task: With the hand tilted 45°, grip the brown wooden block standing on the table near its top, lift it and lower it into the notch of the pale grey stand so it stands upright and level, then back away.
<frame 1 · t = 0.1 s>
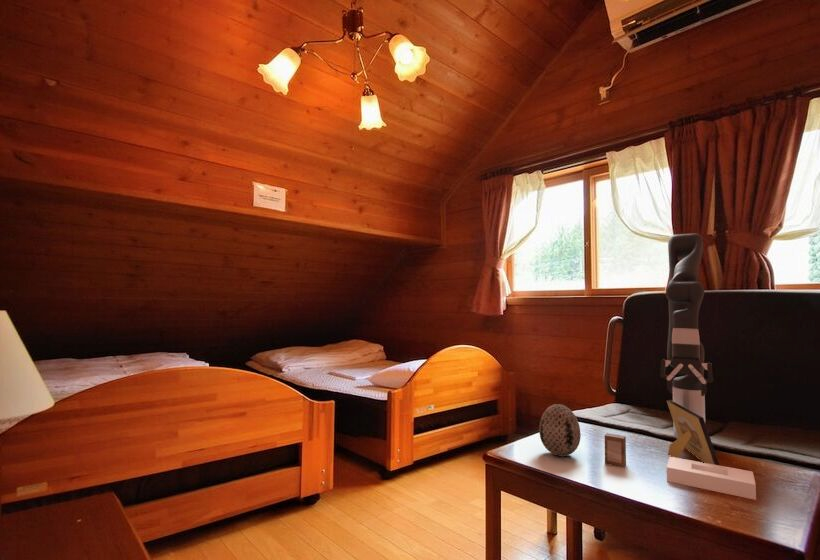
hand: (686, 394, 138), 17 cm above the table, tool pointing down, fingers open, 8 cm apart
picture frame: (685, 458, 129), on the table
notch stand: (709, 483, 110), on the table
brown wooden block: (615, 464, 123), on the table
decorative egg: (559, 455, 130), on the table
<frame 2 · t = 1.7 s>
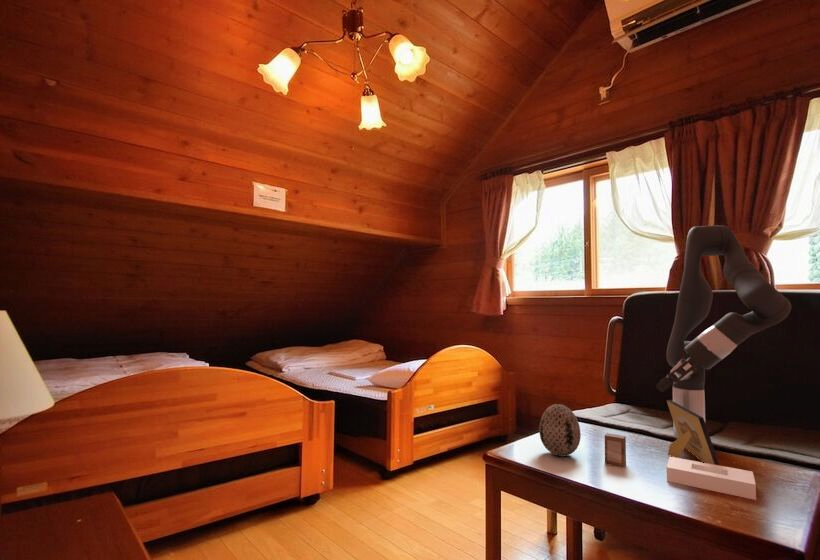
hand: (660, 387, 118), 23 cm above the table, tool tilted 45°, fingers open, 8 cm apart
nothing on the table moved.
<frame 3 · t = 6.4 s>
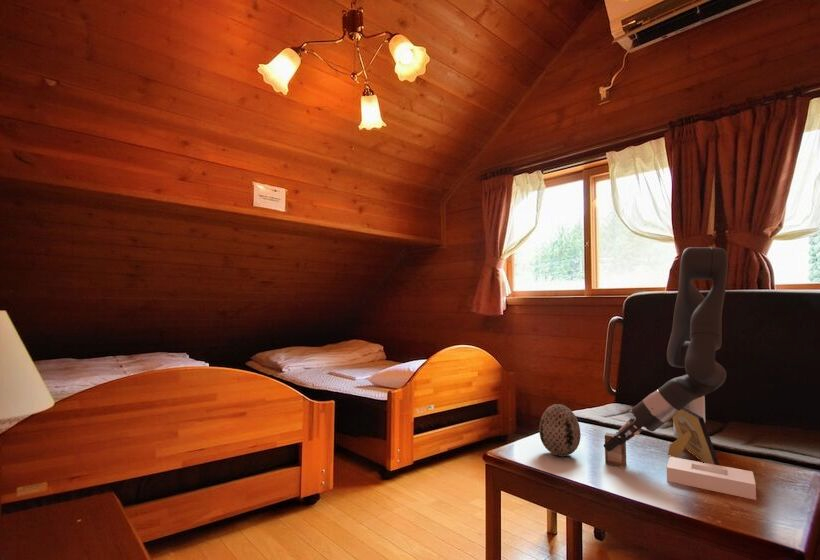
hand: (607, 446, 124), 4 cm above the table, tool tilted 45°, fingers closed on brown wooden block, 3 cm apart
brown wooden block: (615, 464, 123), on the table, touching gripper
everything else where it was.
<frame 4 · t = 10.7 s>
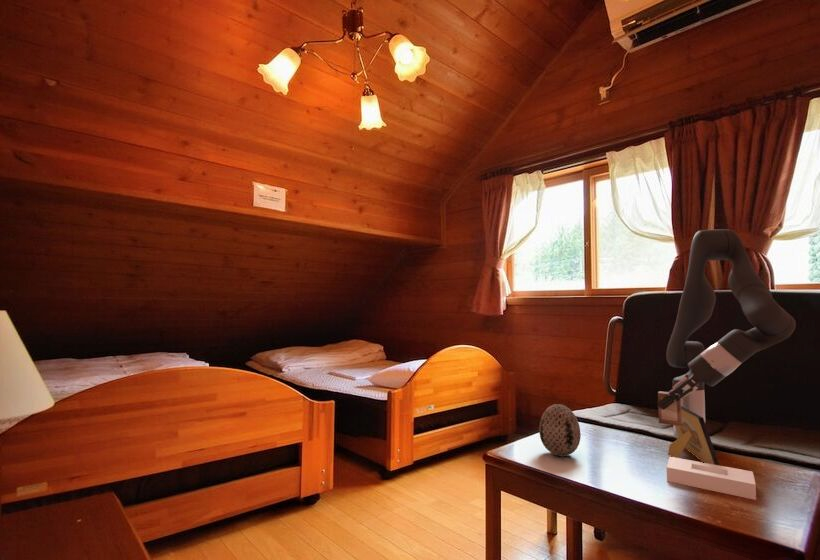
hand: (660, 405, 117), 18 cm above the table, tool tilted 45°, fingers closed on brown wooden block, 3 cm apart
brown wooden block: (670, 423, 116), point 14 cm above the table, touching gripper
everything else where it was.
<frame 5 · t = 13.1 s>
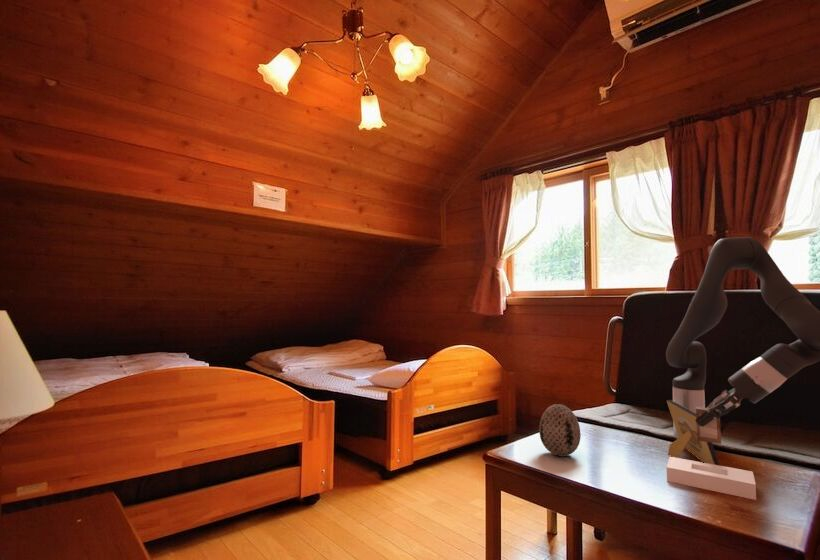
hand: (698, 421, 112), 15 cm above the table, tool tilted 45°, fingers closed on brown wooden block, 3 cm apart
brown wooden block: (709, 440, 111), point 11 cm above the table, touching gripper
everything else where it was.
when the fingers open (6 cm above the table, at t = 15.2 s): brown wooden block stays where it is, resting on notch stand.
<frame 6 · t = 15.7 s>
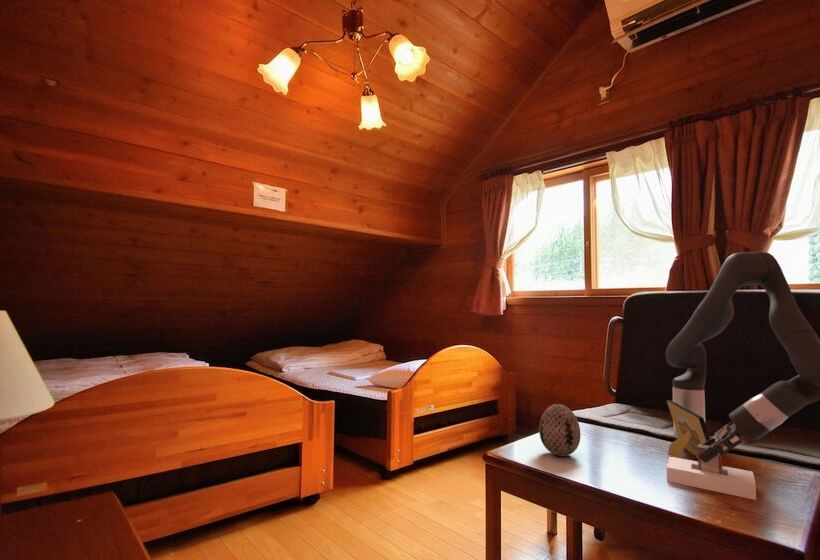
hand: (702, 454, 112), 7 cm above the table, tool tilted 45°, fingers open, 7 cm apart
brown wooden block: (710, 479, 110), point 1 cm above the table, touching notch stand
everything else where it was.
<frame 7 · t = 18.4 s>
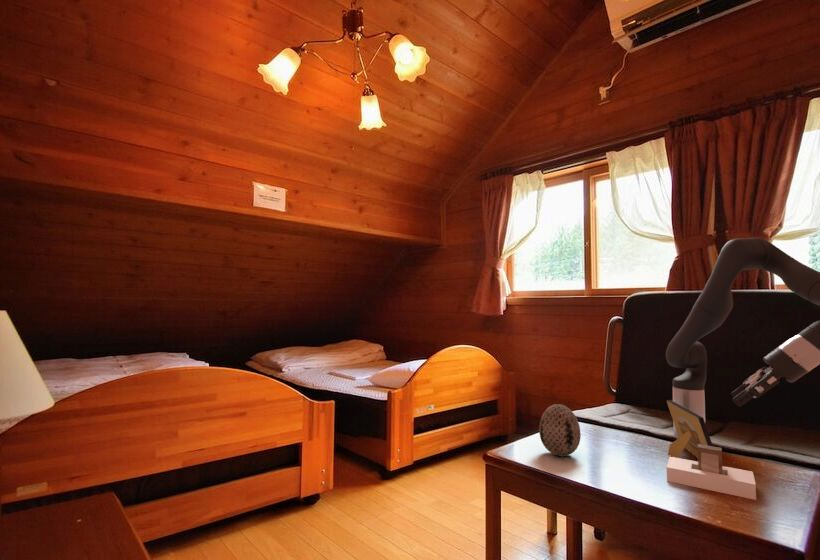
hand: (734, 400, 108), 22 cm above the table, tool tilted 45°, fingers open, 8 cm apart
nothing on the table moved.
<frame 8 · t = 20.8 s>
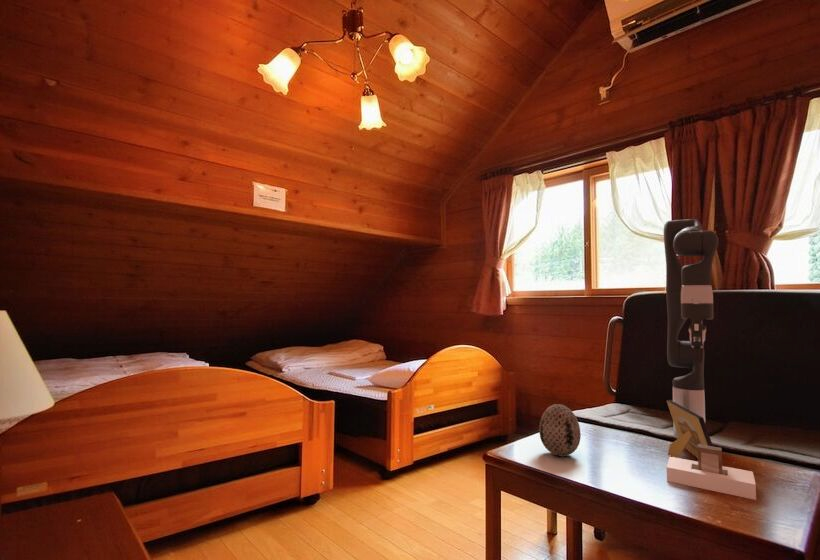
hand: (698, 360, 120), 30 cm above the table, tool pointing down, fingers open, 8 cm apart
nothing on the table moved.
at the end: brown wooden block 0.2 cm off-centre on the notch stand, point 1.0 cm above the notch stand's base; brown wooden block tilted 0°; the gripper is holding nothing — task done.
